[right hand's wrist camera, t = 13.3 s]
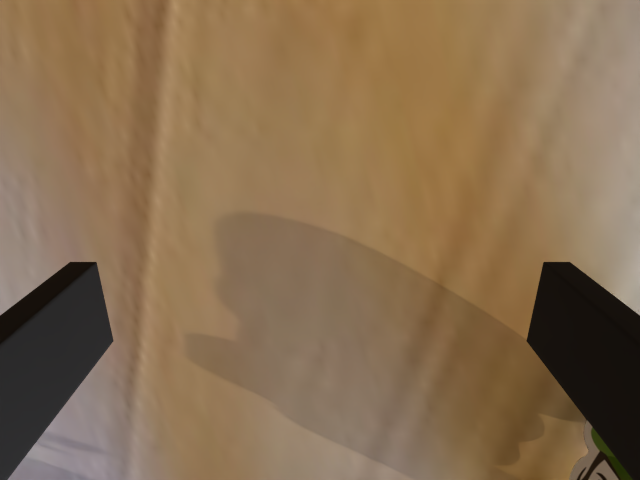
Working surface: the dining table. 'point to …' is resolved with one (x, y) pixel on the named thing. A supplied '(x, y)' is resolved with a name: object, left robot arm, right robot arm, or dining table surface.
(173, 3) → the dining table surface
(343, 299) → the dining table surface
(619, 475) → the cutout
